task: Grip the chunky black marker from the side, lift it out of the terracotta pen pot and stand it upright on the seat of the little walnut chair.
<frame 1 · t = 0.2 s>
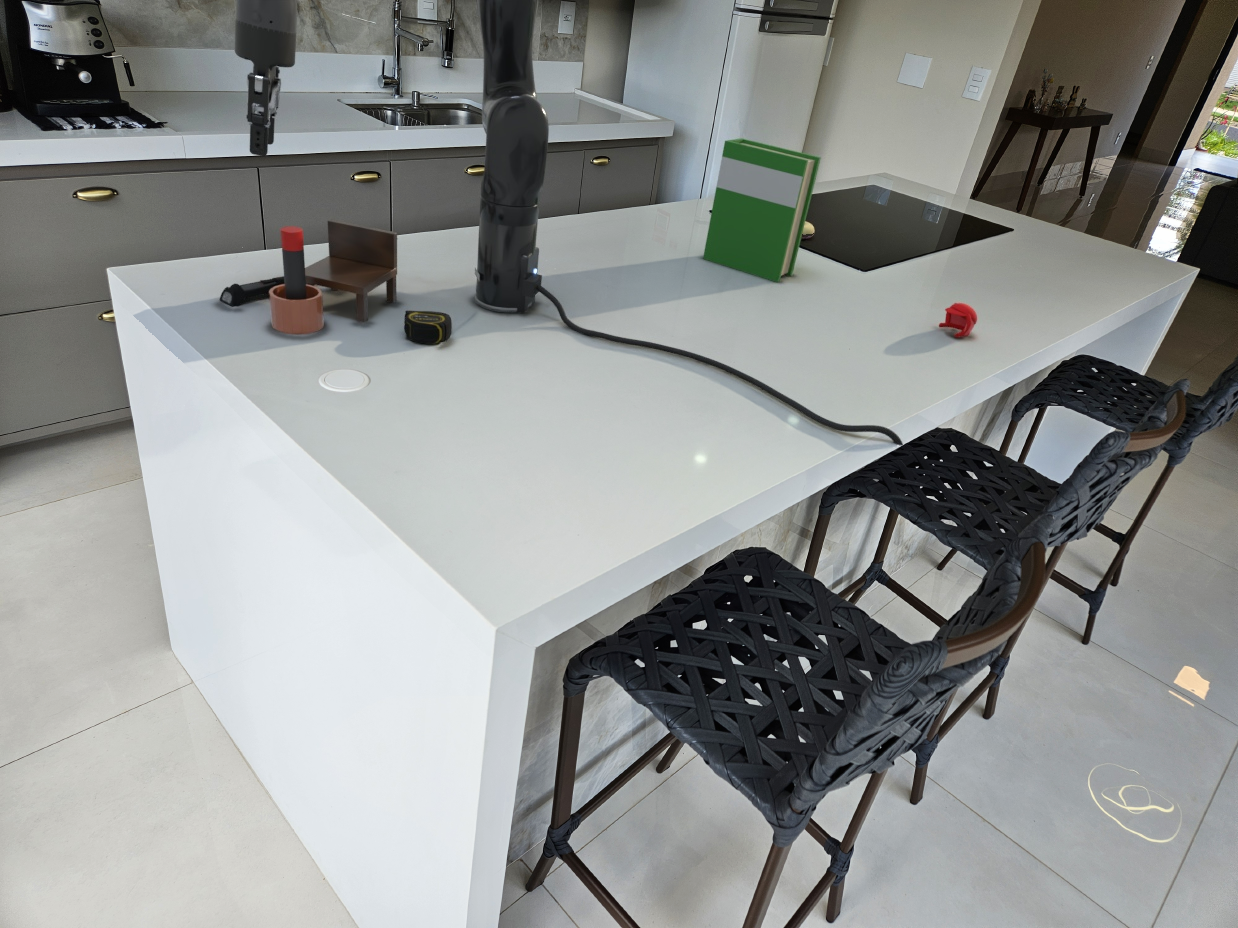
hand: (262, 149, 119), 22 cm above the table, tool pointing down, fingers open, 8 cm apart
red toy helmet: (952, 334, 158), on the table
pen pot: (298, 328, 121), on the table
chair: (348, 307, 130), on the table
donut: (792, 235, 207), on the table
tape measure: (425, 339, 124), on the table
hardback book: (747, 268, 178), on the table
marker: (298, 324, 121), point 1 cm above the table, touching pen pot
electric trimmer: (269, 298, 130), on the table
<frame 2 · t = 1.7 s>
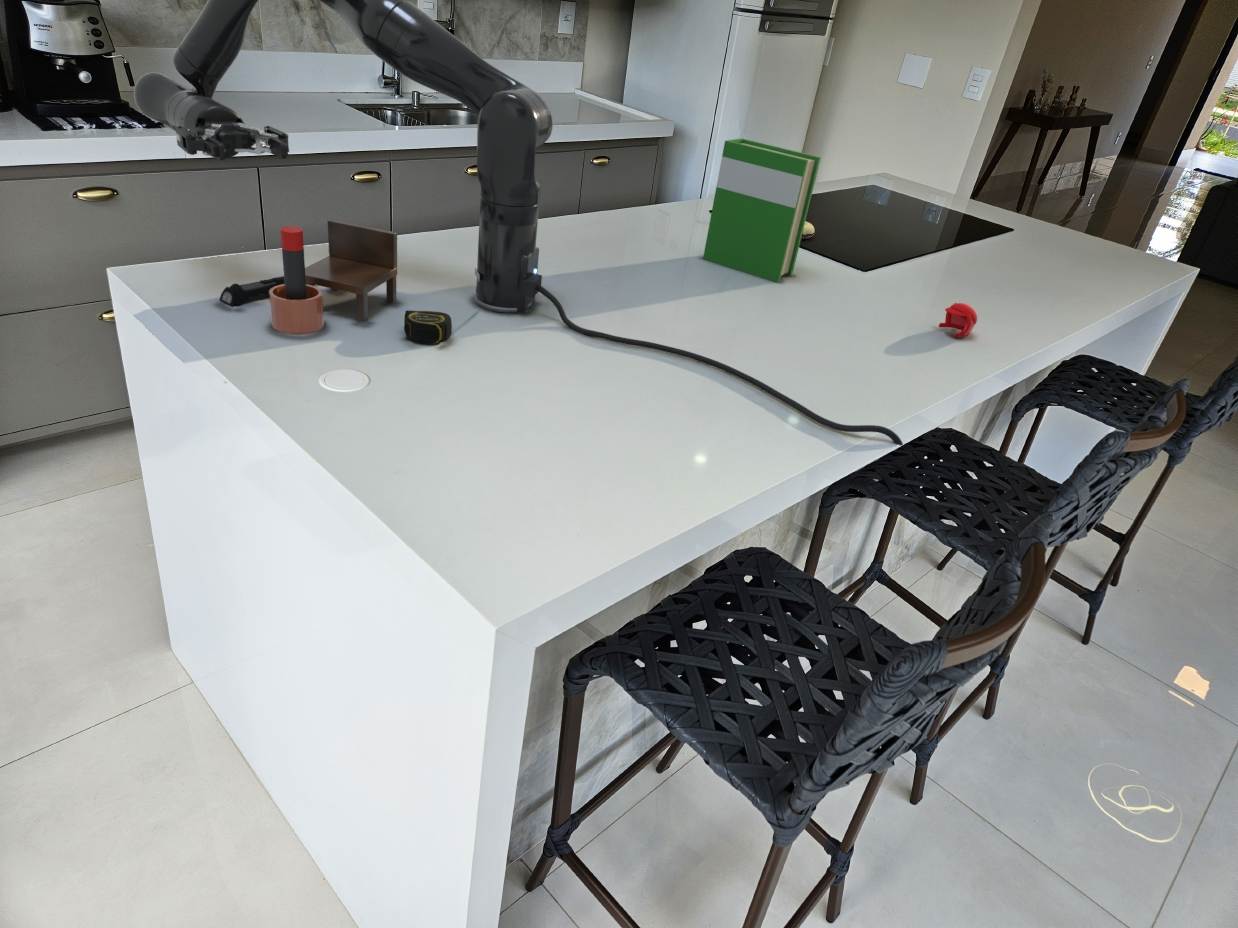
hand: (253, 152, 117), 22 cm above the table, tool horizontal, fingers open, 8 cm apart
nothing on the table moved.
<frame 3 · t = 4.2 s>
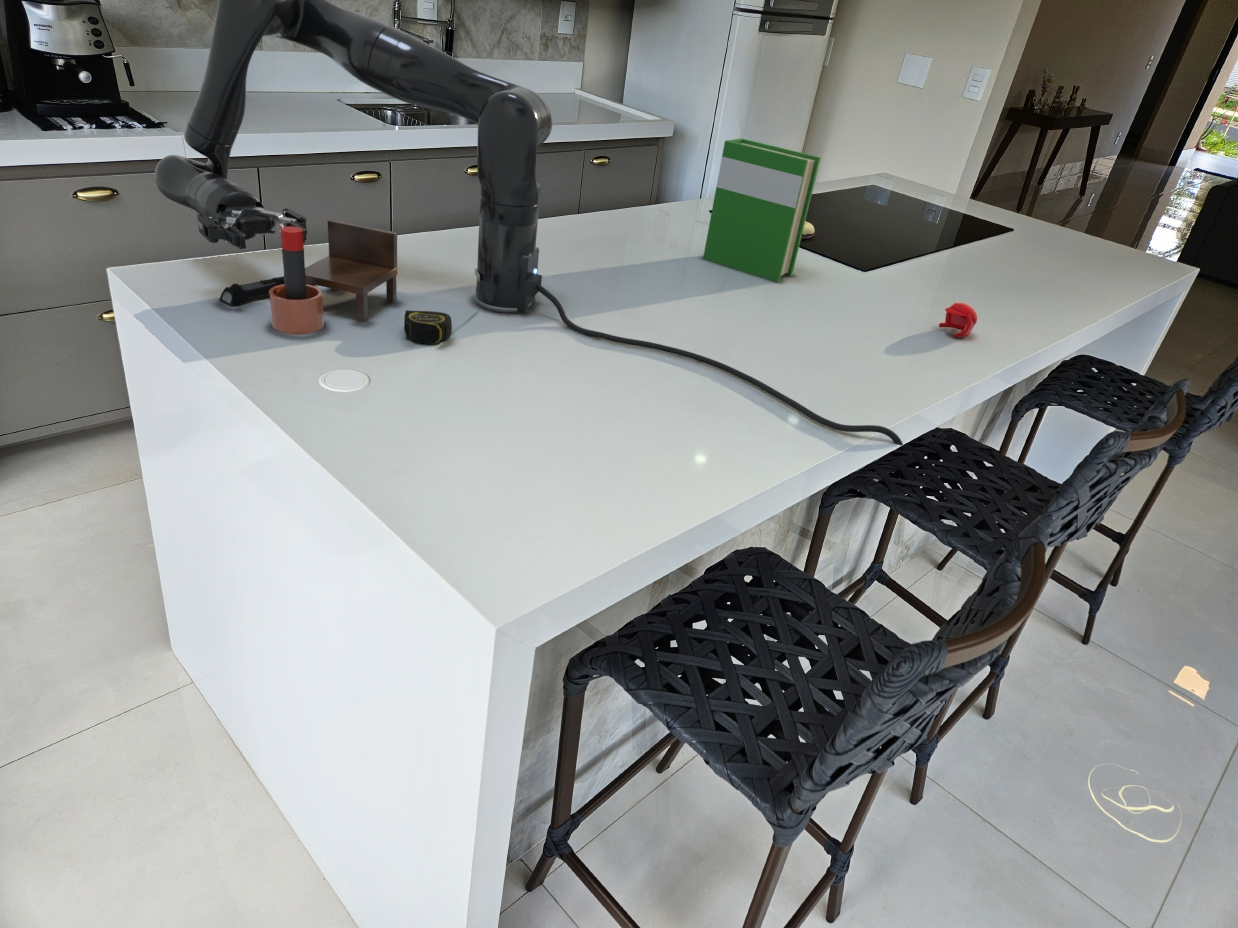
hand: (273, 239, 120), 11 cm above the table, tool horizontal, fingers open, 8 cm apart
nothing on the table moved.
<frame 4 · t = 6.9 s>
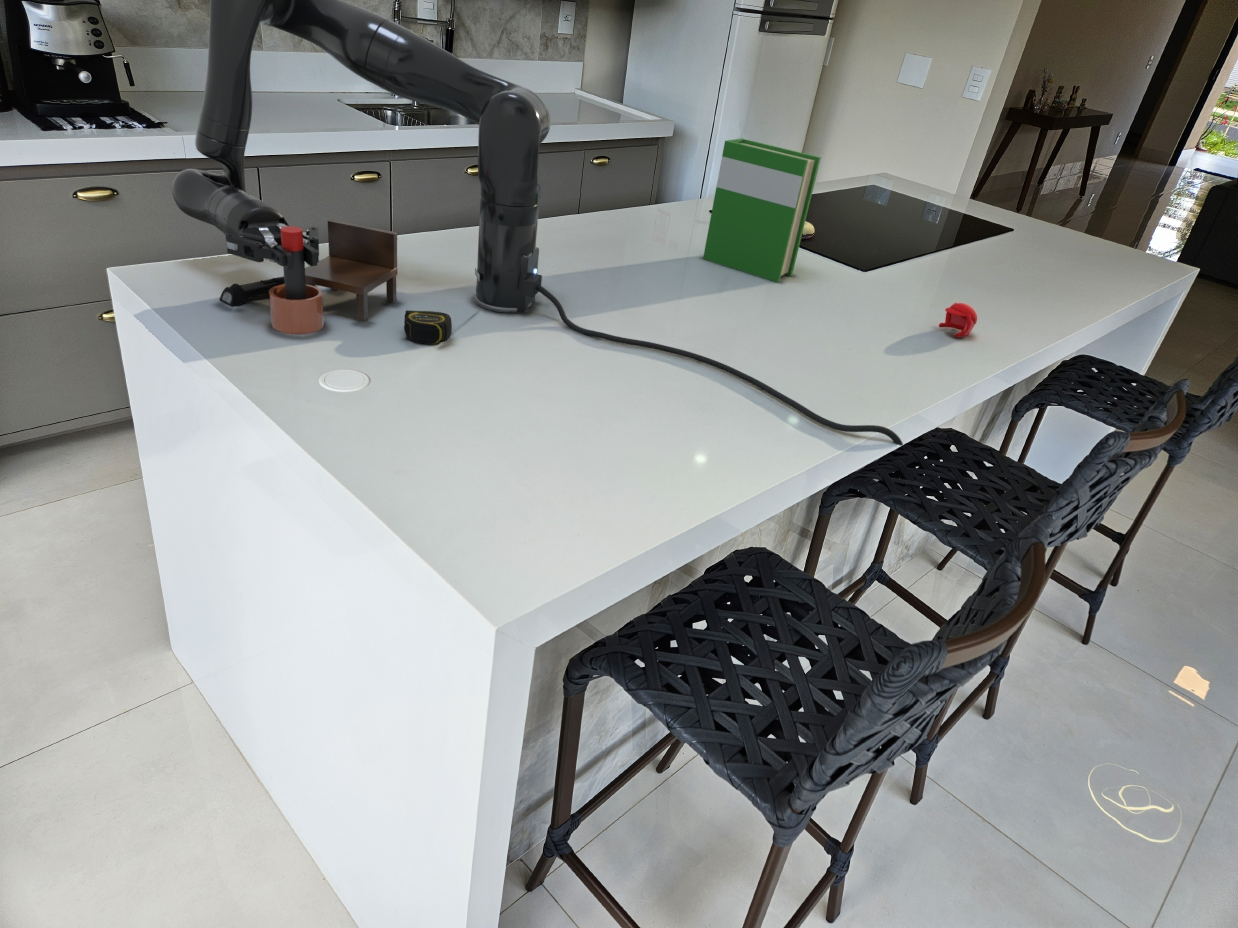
hand: (302, 260, 114), 11 cm above the table, tool horizontal, fingers closed on marker, 3 cm apart
marker: (298, 324, 121), point 1 cm above the table, touching gripper, pen pot
everything else where it was.
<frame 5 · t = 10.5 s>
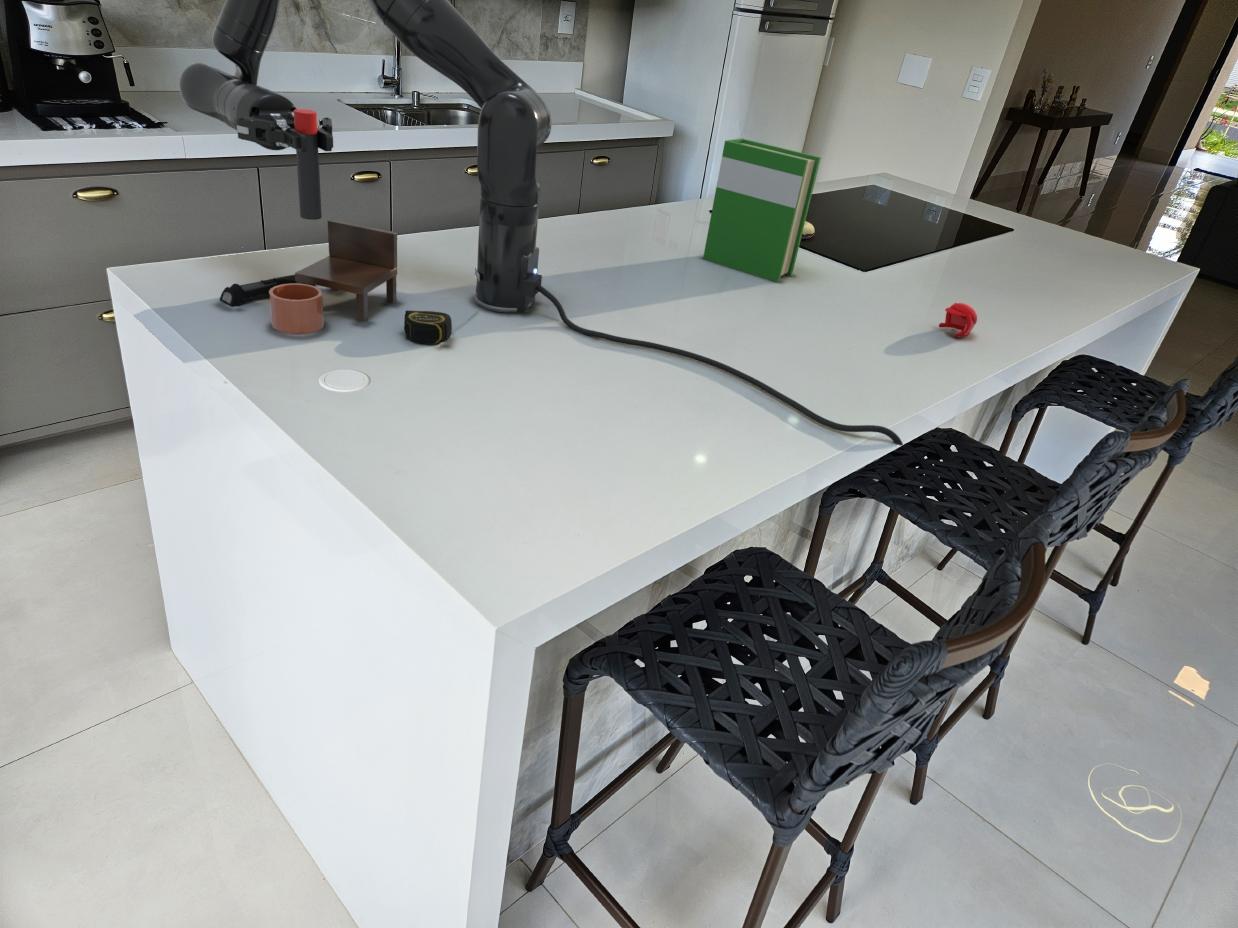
hand: (316, 143, 110), 26 cm above the table, tool horizontal, fingers closed on marker, 3 cm apart
marker: (311, 217, 117), point 15 cm above the table, touching gripper
everything else where it was.
when the fingers open (16 cm above the table, at t = 14.5 s): marker stays where it is, resting on chair.
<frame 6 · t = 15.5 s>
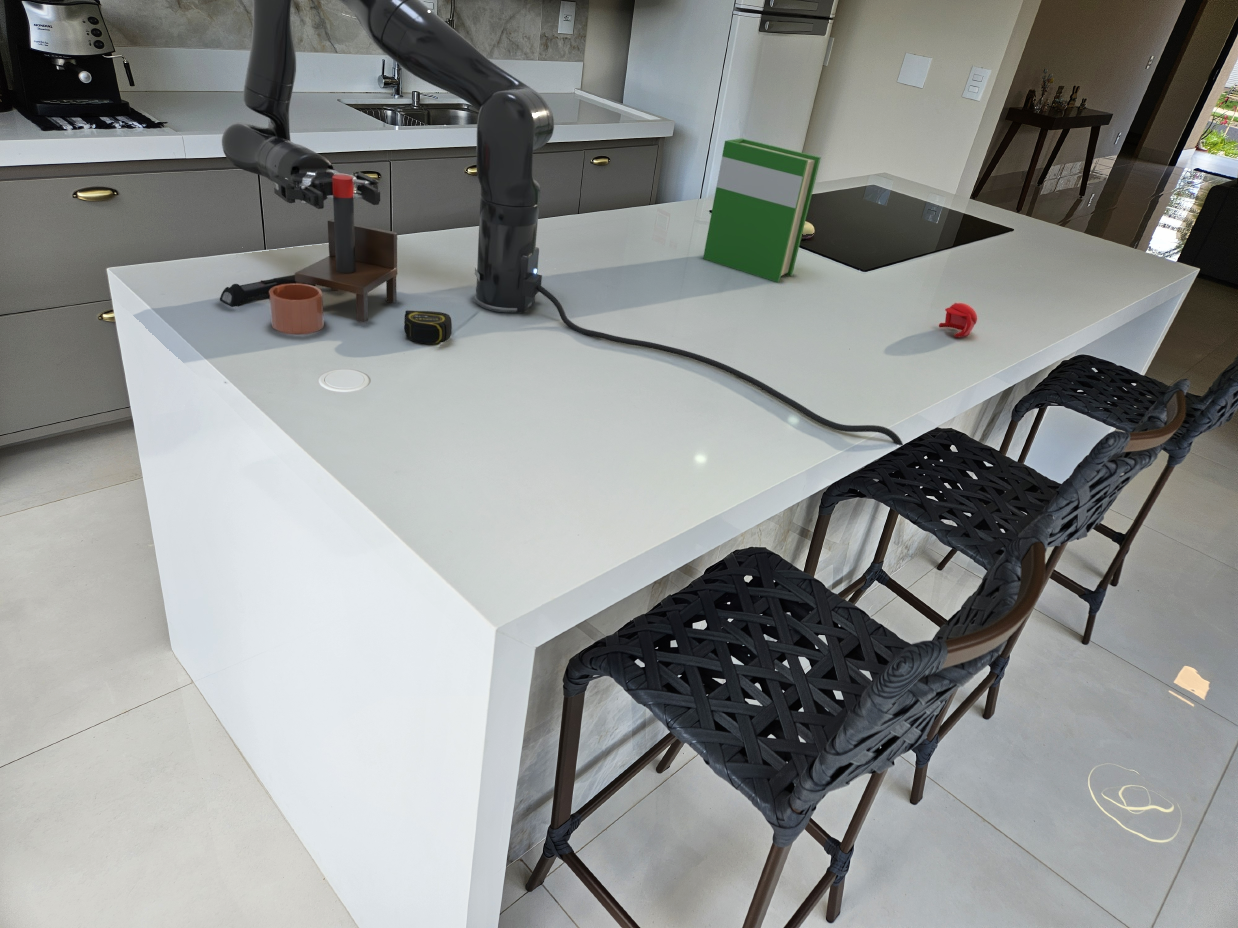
hand: (349, 200, 121), 17 cm above the table, tool horizontal, fingers open, 8 cm apart
marker: (345, 270, 127), point 6 cm above the table, touching chair
everything else where it was.
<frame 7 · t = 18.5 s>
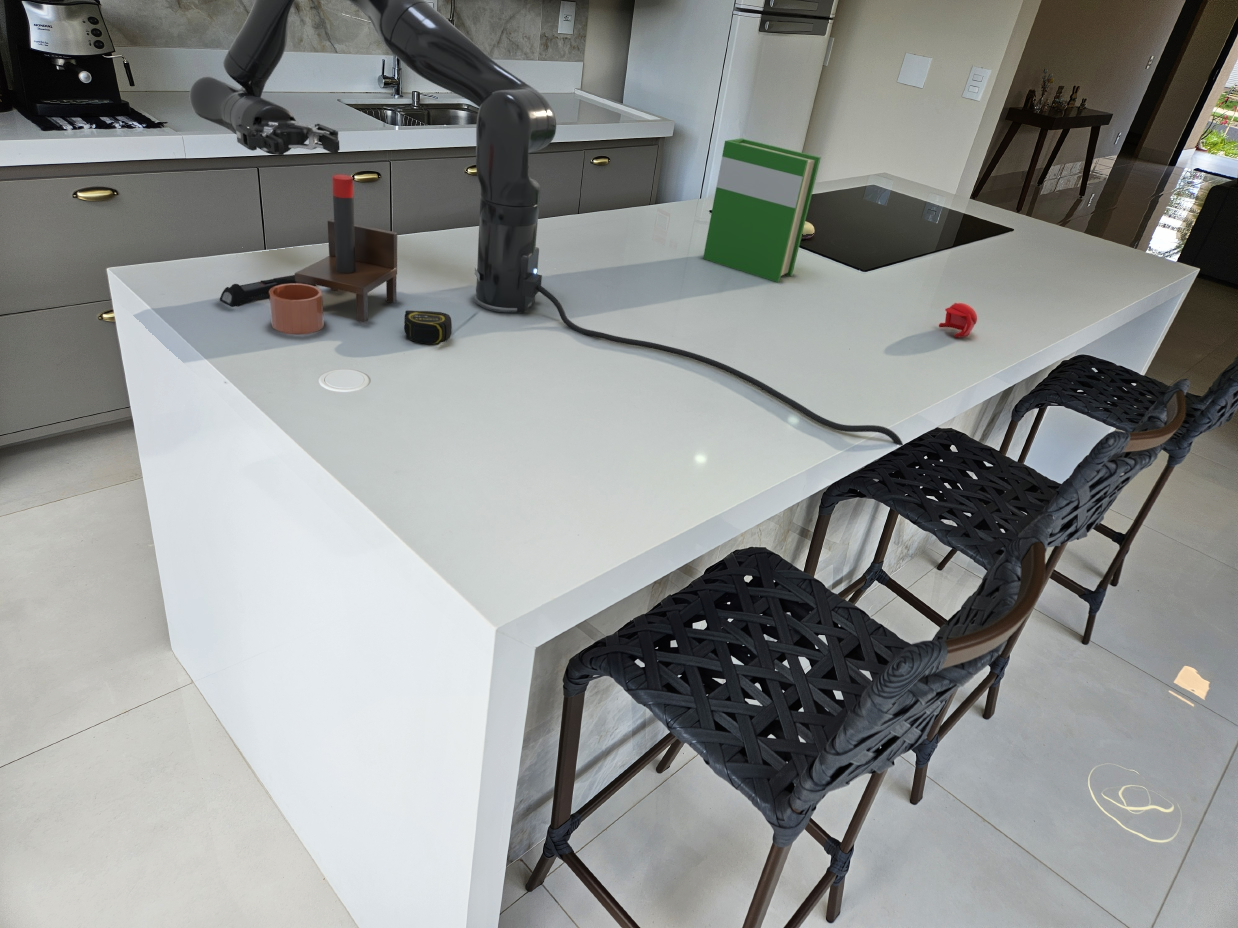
hand: (309, 147, 126), 22 cm above the table, tool horizontal, fingers open, 8 cm apart
nothing on the table moved.
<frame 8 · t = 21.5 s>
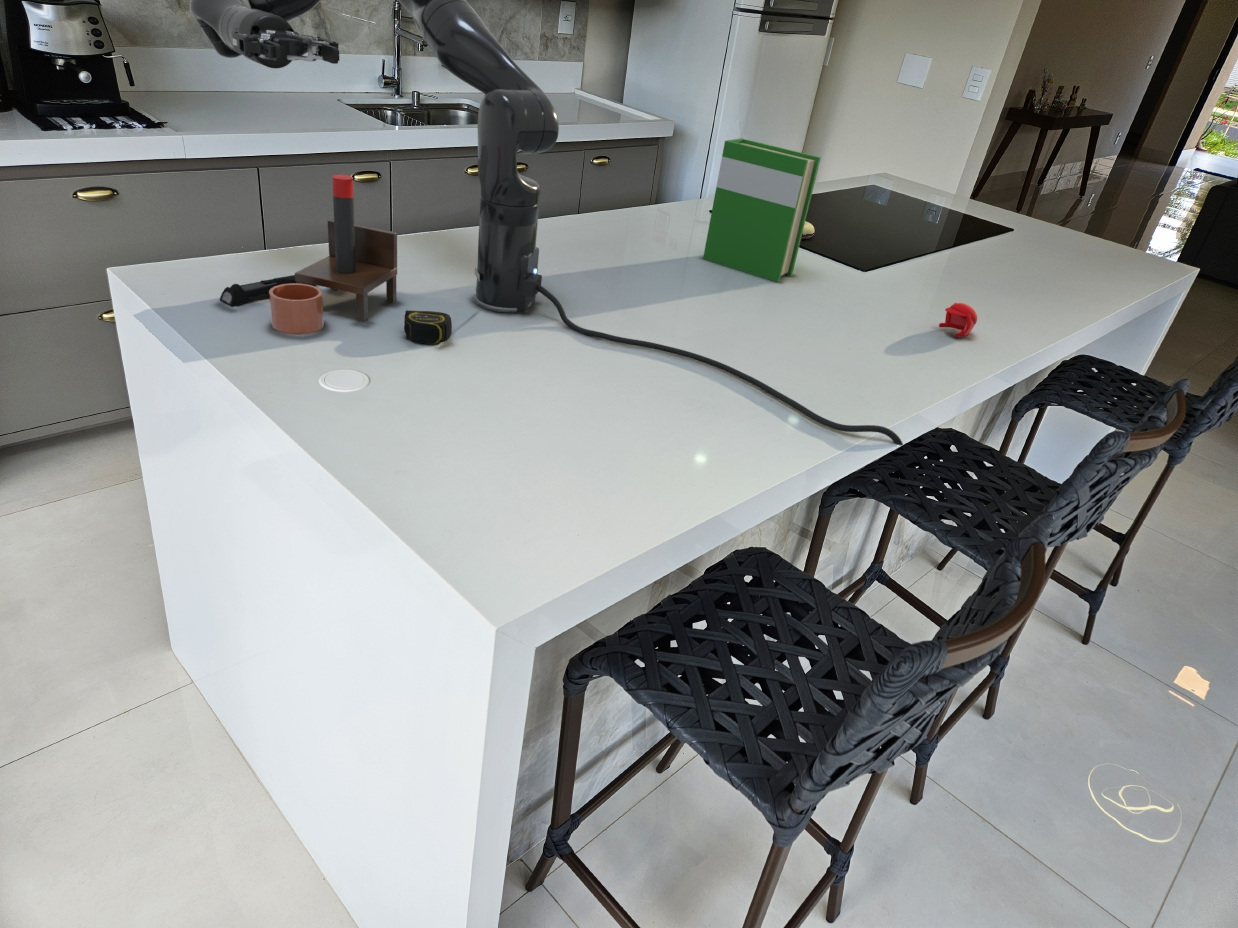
hand: (308, 54, 121), 34 cm above the table, tool horizontal, fingers open, 8 cm apart
nothing on the table moved.
at the end: marker inside the target area on the chair (0.4 cm from its centre), point 6.0 cm above the chair's base; marker tilted 0°; the gripper is holding nothing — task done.
